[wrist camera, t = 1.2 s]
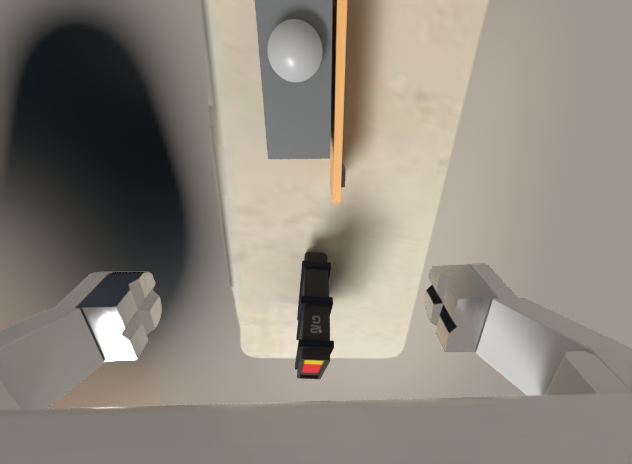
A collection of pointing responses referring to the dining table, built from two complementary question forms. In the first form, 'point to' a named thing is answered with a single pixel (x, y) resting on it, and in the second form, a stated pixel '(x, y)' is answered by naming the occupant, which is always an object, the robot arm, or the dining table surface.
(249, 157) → the dining table surface
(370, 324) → the dining table surface
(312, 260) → the magazine
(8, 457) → the robot arm
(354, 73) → the dining table surface
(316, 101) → the block
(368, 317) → the dining table surface
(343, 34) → the side door
